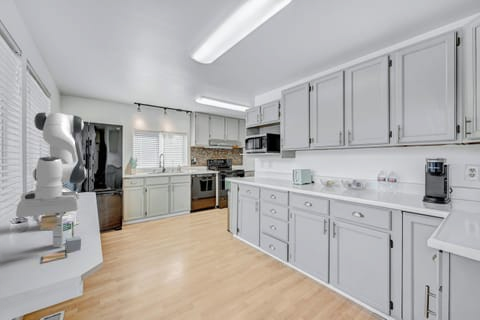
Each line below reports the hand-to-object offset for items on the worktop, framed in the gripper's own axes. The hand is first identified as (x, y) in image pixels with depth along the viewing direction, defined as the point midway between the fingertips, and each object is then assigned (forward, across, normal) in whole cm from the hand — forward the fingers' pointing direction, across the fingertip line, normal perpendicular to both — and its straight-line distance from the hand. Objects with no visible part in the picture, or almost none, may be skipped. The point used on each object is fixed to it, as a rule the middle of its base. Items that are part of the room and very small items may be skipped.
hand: (49, 223), depth 93 cm
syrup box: (+14, -5, -7) cm, 16 cm away
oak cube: (+2, 0, 0) cm, 2 cm away
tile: (+13, -2, +8) cm, 15 cm away
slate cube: (+13, -8, +3) cm, 16 cm away
